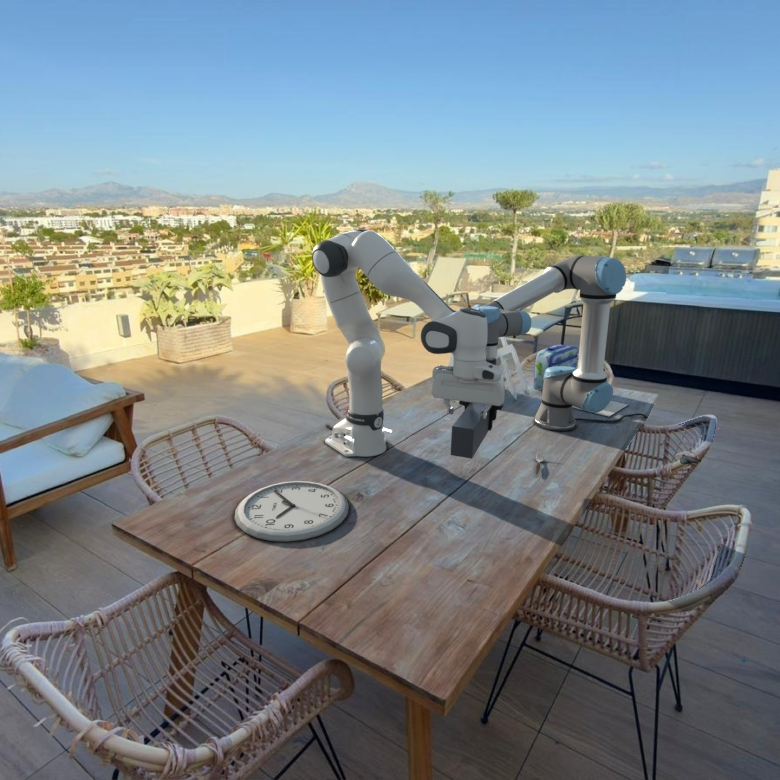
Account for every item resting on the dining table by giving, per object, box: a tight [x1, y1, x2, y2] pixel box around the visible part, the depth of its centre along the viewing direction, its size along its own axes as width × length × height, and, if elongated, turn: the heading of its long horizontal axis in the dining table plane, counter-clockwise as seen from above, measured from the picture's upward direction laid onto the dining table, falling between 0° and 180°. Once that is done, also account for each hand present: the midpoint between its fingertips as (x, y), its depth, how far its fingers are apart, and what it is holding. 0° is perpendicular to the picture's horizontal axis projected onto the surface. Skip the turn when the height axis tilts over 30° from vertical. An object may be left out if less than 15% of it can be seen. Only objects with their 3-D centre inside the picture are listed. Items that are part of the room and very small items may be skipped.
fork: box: [535, 451, 546, 476], centre depth 168 cm, size 3×16×2 cm, turn 160°
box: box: [450, 402, 492, 459], centre depth 158 cm, size 27×6×9 cm, turn 158°
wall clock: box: [234, 480, 350, 543], centre depth 140 cm, size 30×2×30 cm
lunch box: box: [533, 344, 579, 392], centre depth 247 cm, size 26×11×21 cm, turn 134°
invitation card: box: [573, 400, 629, 418], centre depth 226 cm, size 21×1×15 cm
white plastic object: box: [448, 337, 531, 400], centre depth 245 cm, size 37×45×31 cm
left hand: (466, 415), depth 147 cm, fingers open, 8 cm apart
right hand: (479, 427), depth 168 cm, fingers closed on box, 6 cm apart
